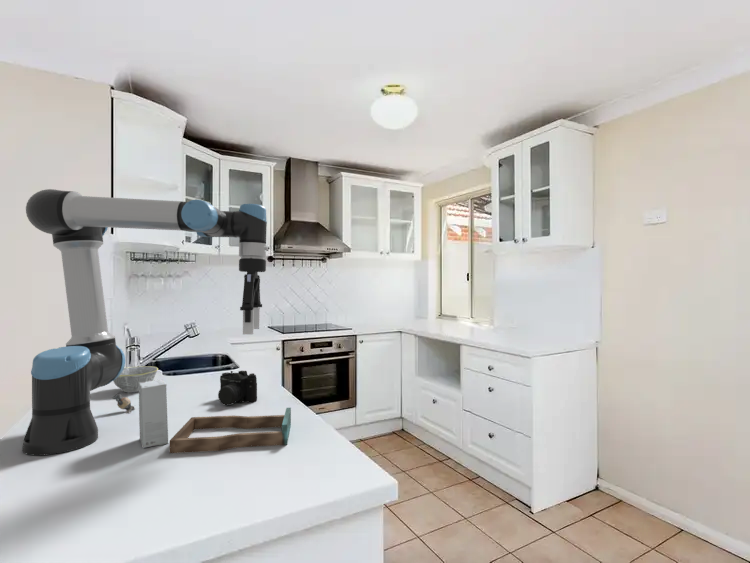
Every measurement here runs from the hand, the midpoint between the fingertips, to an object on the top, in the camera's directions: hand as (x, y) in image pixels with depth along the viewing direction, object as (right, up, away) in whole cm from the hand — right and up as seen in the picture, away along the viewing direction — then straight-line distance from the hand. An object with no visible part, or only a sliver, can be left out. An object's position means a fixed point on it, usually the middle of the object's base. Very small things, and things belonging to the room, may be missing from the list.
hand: (251, 331), depth 122 cm
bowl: (-55, -27, +36) cm, 71 cm away
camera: (-12, -26, +20) cm, 35 cm away
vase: (-43, -26, +9) cm, 51 cm away
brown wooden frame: (0, -26, -13) cm, 29 cm away
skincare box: (-20, -26, -15) cm, 37 cm away
